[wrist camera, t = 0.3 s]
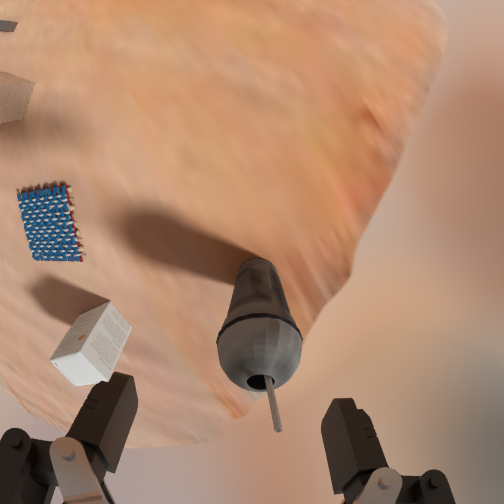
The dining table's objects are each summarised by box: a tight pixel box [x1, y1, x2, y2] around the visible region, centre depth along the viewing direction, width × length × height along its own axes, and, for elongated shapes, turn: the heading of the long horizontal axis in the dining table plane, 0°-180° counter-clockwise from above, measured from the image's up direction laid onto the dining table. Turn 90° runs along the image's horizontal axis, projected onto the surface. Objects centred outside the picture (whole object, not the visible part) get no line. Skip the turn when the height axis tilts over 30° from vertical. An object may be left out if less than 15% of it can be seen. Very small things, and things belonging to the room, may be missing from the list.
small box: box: [50, 301, 132, 387], centre depth 32 cm, size 8×6×10 cm
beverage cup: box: [216, 258, 303, 433], centre depth 24 cm, size 7×7×20 cm
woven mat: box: [17, 184, 87, 262], centre depth 29 cm, size 10×11×2 cm
